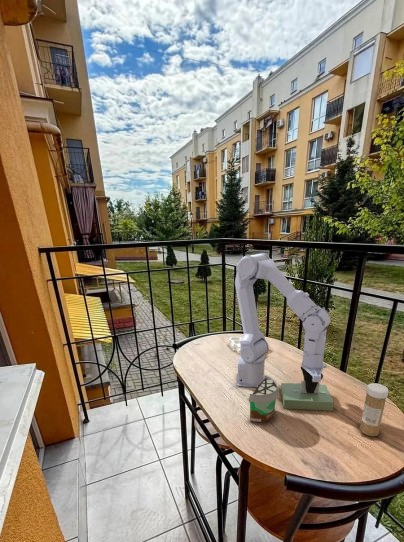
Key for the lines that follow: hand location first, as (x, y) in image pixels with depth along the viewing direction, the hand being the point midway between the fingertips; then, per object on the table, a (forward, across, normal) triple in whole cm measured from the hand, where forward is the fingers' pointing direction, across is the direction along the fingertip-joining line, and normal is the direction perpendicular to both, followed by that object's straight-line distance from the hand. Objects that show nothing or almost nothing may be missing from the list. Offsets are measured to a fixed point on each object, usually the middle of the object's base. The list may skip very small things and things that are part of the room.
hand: (309, 390), depth 87 cm
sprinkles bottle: (+4, -13, -13) cm, 19 cm away
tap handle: (0, 0, 0) cm, 0 cm away
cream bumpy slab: (+4, +39, +20) cm, 44 cm away
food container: (+4, -10, +13) cm, 17 cm away
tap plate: (+3, 0, +1) cm, 4 cm away
